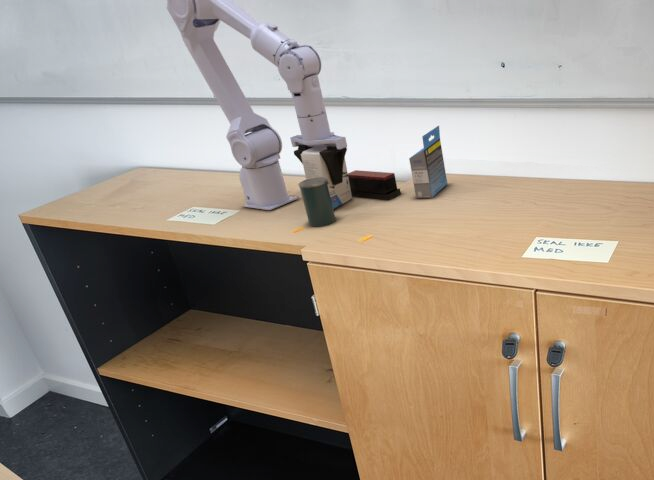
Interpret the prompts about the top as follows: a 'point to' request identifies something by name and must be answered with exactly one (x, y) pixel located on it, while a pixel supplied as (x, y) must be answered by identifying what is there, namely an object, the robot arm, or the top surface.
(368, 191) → the black and red block
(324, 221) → the pen tin
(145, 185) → the top surface
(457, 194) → the top surface
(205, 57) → the robot arm
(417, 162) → the blue grey hanging carton
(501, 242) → the top surface
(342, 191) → the ink box
